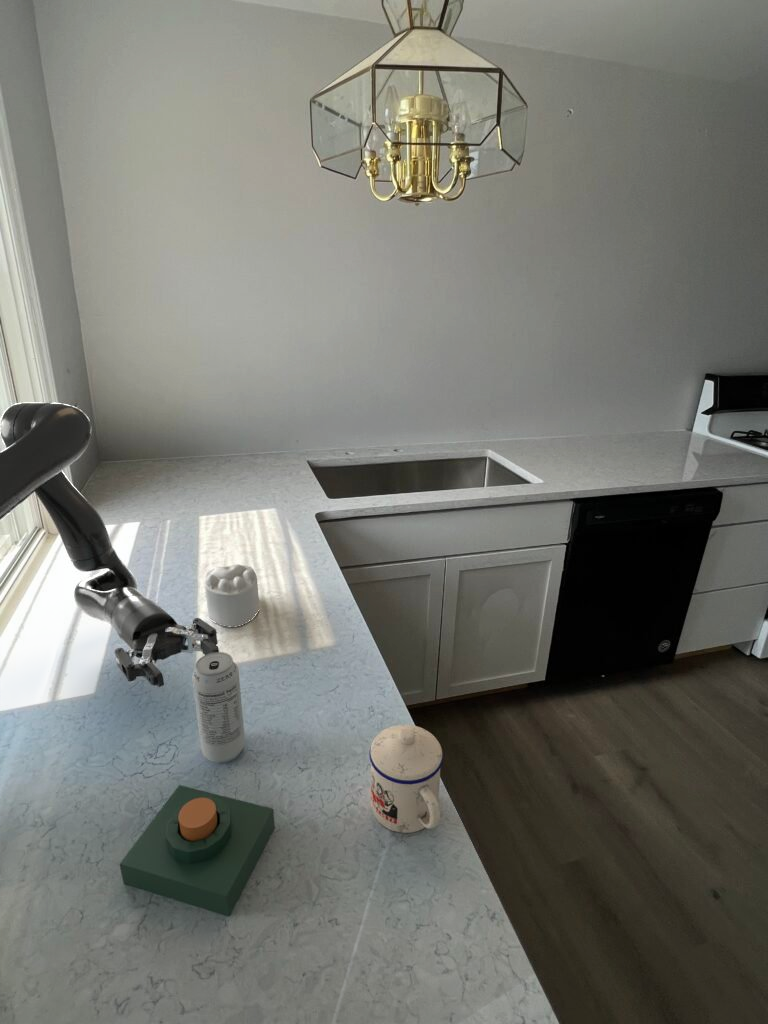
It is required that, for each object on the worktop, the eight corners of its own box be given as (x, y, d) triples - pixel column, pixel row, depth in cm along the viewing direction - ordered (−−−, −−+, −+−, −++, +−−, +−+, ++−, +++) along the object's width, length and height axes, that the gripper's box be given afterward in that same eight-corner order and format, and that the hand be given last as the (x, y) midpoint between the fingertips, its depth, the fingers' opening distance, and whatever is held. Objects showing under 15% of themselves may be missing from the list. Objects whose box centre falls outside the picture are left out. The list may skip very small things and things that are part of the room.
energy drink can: (246, 732, 83) (238, 647, 78) (244, 763, 78) (235, 674, 72) (204, 737, 82) (194, 651, 77) (199, 769, 77) (187, 678, 71)
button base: (123, 884, 61) (116, 851, 60) (182, 803, 71) (177, 773, 70) (229, 917, 58) (225, 883, 57) (275, 827, 68) (272, 797, 66)
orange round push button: (173, 836, 62) (171, 823, 61) (193, 807, 65) (191, 794, 65) (205, 845, 61) (203, 831, 60) (224, 815, 65) (222, 801, 64)
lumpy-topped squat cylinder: (255, 592, 123) (252, 557, 120) (263, 622, 112) (260, 584, 109) (206, 600, 120) (202, 563, 117) (209, 631, 108) (205, 592, 105)
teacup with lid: (357, 791, 73) (357, 720, 69) (417, 767, 77) (420, 699, 73) (400, 869, 63) (403, 792, 59) (466, 837, 67) (473, 763, 63)
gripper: (94, 621, 86) (137, 667, 75) (181, 590, 96) (230, 628, 85) (102, 661, 89) (144, 712, 78) (186, 628, 98) (234, 669, 88)
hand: (189, 668), depth 82 cm, fingers open, 8 cm apart
